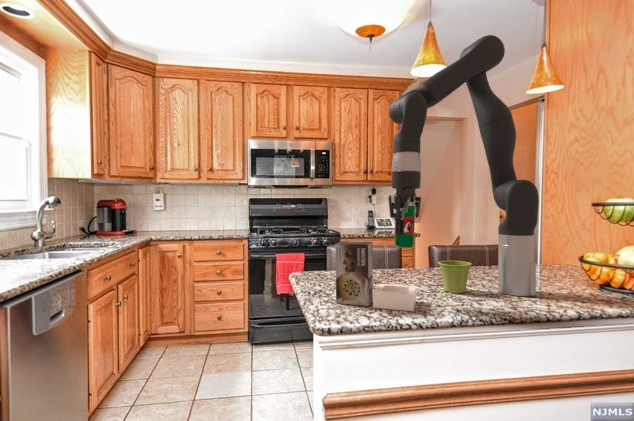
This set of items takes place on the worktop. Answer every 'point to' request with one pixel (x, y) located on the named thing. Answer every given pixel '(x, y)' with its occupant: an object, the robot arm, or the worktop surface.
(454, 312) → the worktop surface
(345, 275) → the coffee box
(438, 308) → the worktop surface
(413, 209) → the soda can
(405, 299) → the holder
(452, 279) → the plant pot
